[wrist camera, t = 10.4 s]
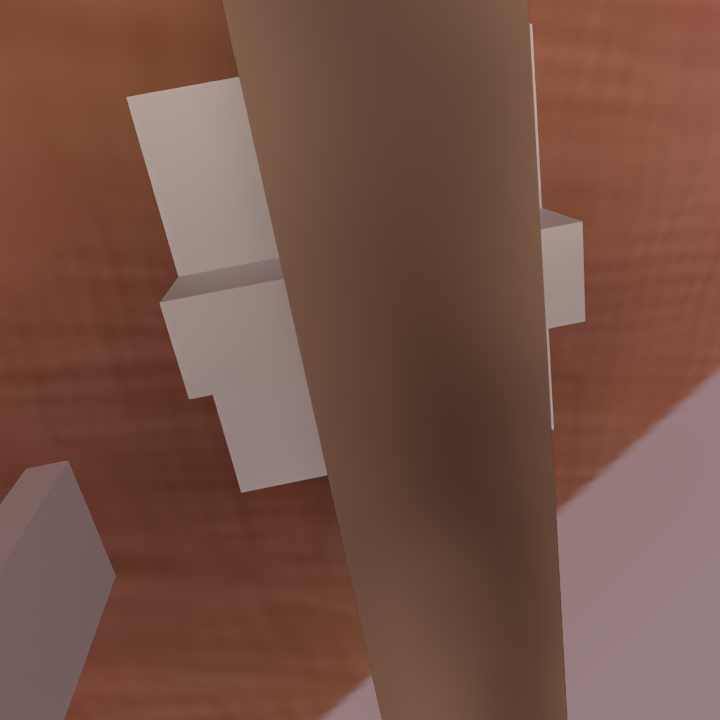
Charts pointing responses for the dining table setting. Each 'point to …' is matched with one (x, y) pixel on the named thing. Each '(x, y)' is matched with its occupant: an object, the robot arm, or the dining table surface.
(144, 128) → the stand
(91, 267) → the dining table surface
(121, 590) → the dining table surface
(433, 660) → the beam
